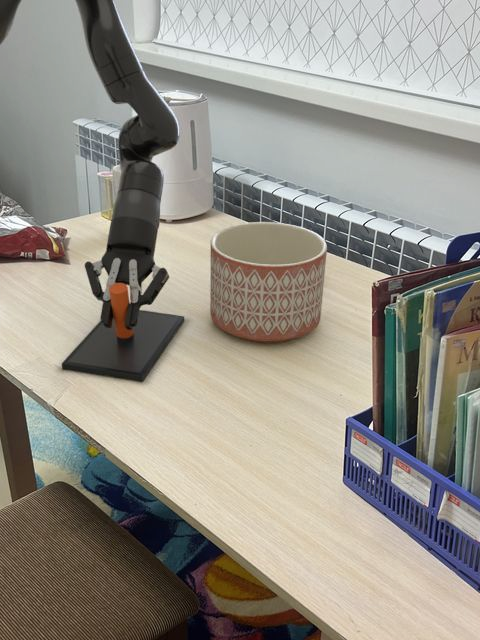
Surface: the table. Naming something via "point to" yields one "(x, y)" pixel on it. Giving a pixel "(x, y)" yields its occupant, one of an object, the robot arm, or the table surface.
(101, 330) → the tablet
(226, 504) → the table surface
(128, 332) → the orange peg
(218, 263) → the planter
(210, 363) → the table surface
